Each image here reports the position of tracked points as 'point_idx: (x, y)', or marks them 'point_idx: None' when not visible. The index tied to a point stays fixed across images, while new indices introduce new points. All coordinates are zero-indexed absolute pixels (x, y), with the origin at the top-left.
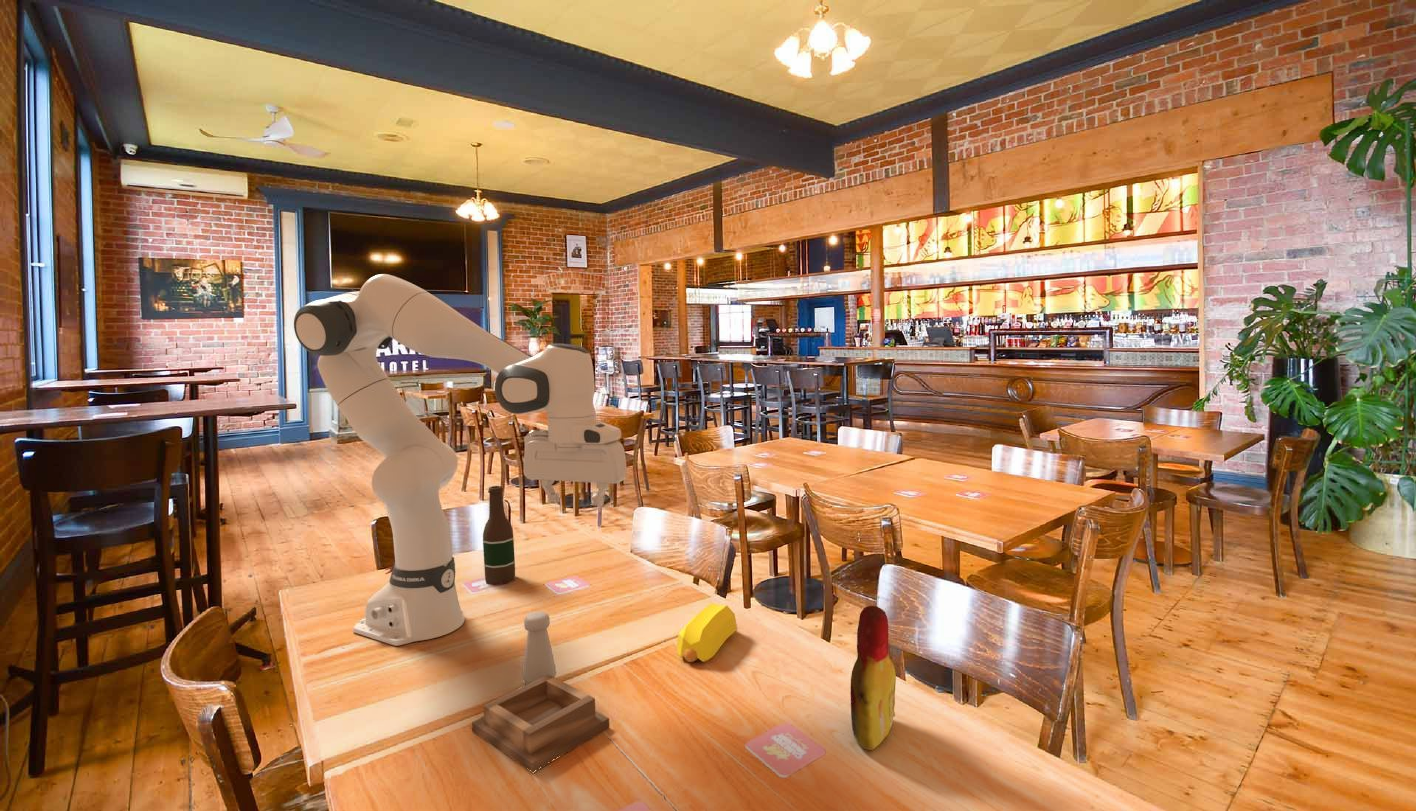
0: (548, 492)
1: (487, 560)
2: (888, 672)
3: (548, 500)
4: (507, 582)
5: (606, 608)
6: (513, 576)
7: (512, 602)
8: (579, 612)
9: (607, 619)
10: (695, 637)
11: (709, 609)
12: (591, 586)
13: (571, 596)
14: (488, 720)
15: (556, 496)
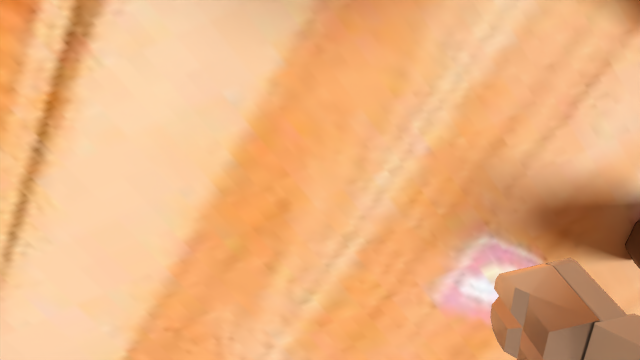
0: (628, 333)
1: None
2: None
3: (577, 270)
4: (635, 227)
5: (319, 229)
6: (632, 249)
7: (573, 152)
8: (374, 182)
9: (278, 183)
10: None
11: None
12: (426, 299)
13: (444, 240)
14: None
15: (530, 345)
